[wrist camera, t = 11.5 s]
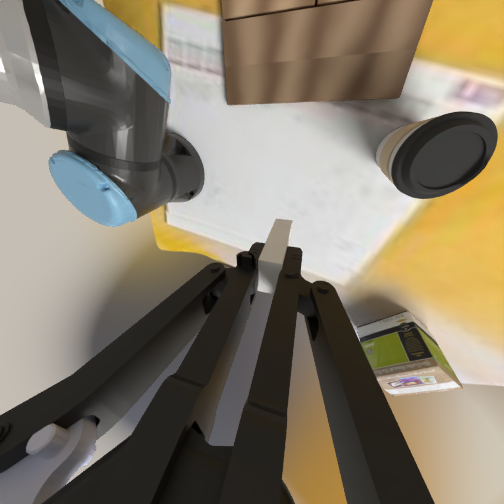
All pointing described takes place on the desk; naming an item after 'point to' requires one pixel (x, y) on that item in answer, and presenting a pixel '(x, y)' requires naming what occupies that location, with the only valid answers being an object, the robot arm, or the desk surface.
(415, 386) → the tea box
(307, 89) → the laid board
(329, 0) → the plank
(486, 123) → the coffee cup
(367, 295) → the desk surface
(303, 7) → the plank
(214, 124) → the desk surface
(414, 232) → the desk surface
